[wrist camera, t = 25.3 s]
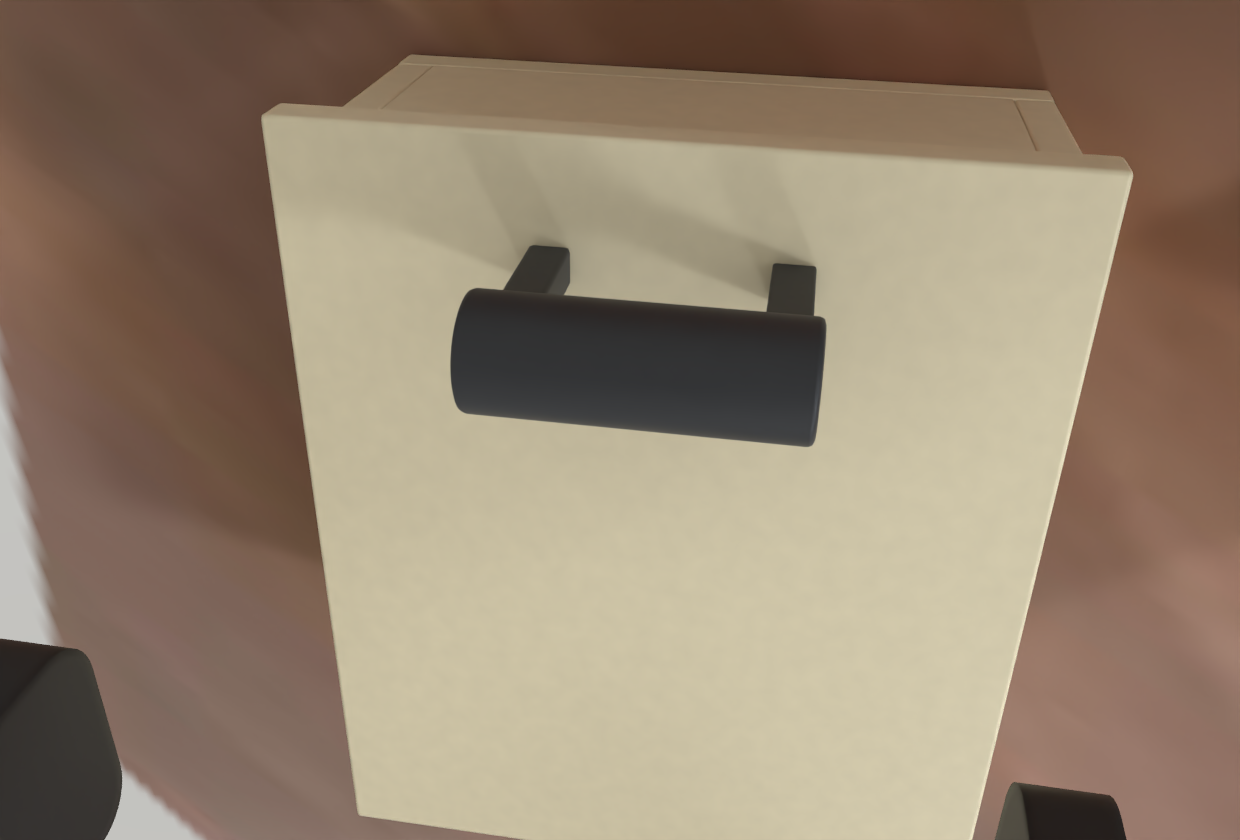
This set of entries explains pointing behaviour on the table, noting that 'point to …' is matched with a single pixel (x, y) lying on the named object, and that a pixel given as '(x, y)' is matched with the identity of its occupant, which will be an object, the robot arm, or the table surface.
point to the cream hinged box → (725, 102)
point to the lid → (680, 461)
